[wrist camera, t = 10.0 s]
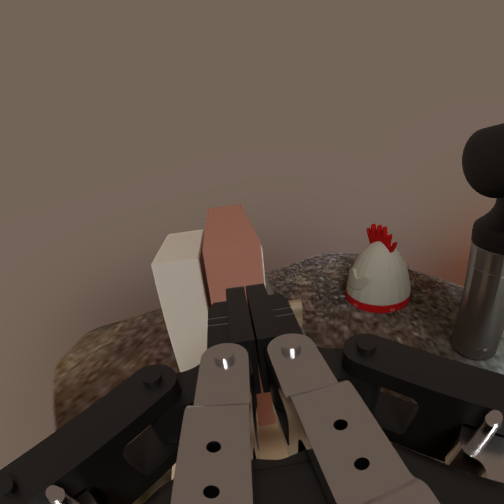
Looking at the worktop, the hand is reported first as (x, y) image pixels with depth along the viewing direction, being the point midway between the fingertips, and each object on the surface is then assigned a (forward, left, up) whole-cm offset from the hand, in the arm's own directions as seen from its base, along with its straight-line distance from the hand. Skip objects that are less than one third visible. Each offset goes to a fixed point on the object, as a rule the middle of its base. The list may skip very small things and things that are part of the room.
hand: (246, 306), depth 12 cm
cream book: (-13, -22, -23) cm, 34 cm away
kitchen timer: (-47, -7, -24) cm, 53 cm away
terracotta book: (-14, -15, -23) cm, 31 cm away
